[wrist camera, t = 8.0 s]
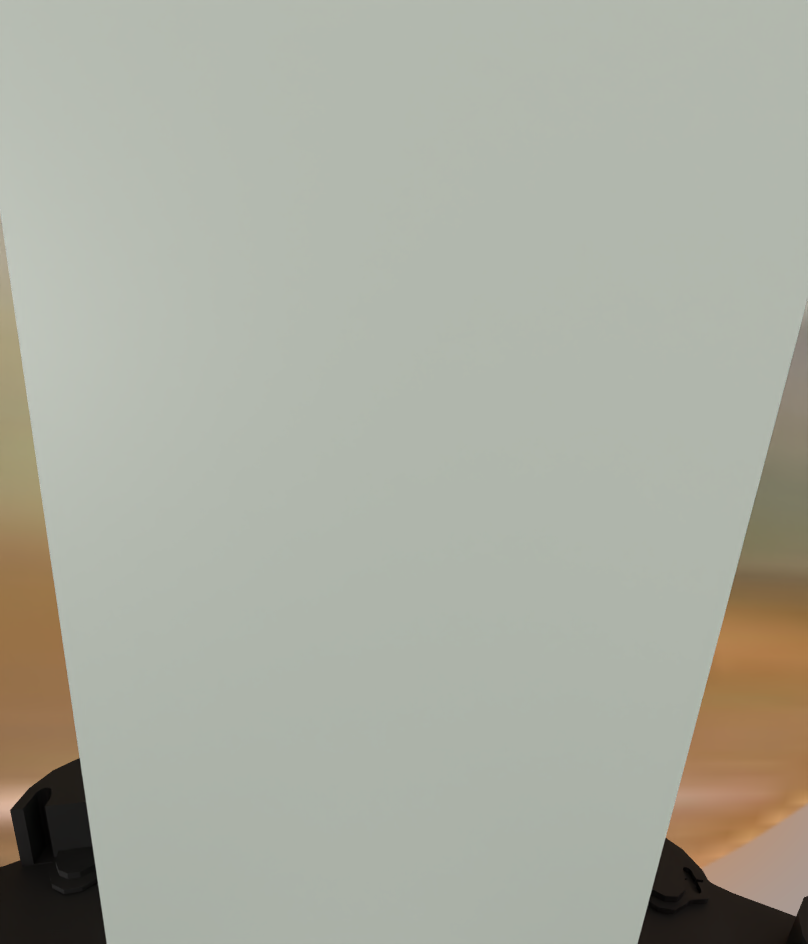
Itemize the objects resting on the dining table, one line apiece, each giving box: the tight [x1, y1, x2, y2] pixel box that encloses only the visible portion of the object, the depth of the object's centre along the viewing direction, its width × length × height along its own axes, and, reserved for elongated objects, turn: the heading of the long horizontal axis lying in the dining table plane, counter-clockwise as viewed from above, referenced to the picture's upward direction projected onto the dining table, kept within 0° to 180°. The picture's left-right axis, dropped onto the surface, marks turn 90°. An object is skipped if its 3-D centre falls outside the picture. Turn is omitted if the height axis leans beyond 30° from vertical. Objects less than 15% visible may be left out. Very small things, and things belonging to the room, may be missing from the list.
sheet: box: [0, 0, 808, 944], centre depth 8 cm, size 14×4×11 cm, turn 177°
